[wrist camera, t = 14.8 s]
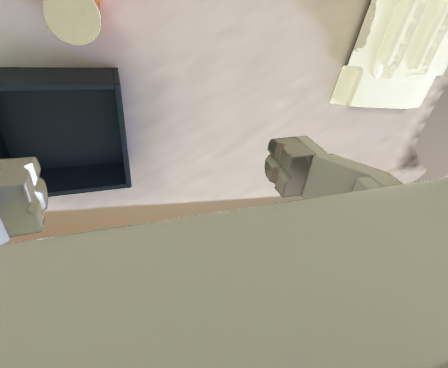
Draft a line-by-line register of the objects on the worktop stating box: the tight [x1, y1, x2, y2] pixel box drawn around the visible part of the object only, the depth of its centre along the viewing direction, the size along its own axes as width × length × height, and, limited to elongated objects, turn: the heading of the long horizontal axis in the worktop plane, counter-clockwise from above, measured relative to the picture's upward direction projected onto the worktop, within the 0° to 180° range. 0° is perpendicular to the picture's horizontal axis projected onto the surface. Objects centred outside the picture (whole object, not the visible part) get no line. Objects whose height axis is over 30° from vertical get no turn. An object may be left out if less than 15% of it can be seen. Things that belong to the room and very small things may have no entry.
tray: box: [330, 0, 448, 109], centre depth 43 cm, size 20×28×4 cm
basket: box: [0, 67, 132, 197], centre depth 35 cm, size 14×13×6 cm
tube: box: [43, 0, 101, 46], centre depth 27 cm, size 4×4×10 cm
